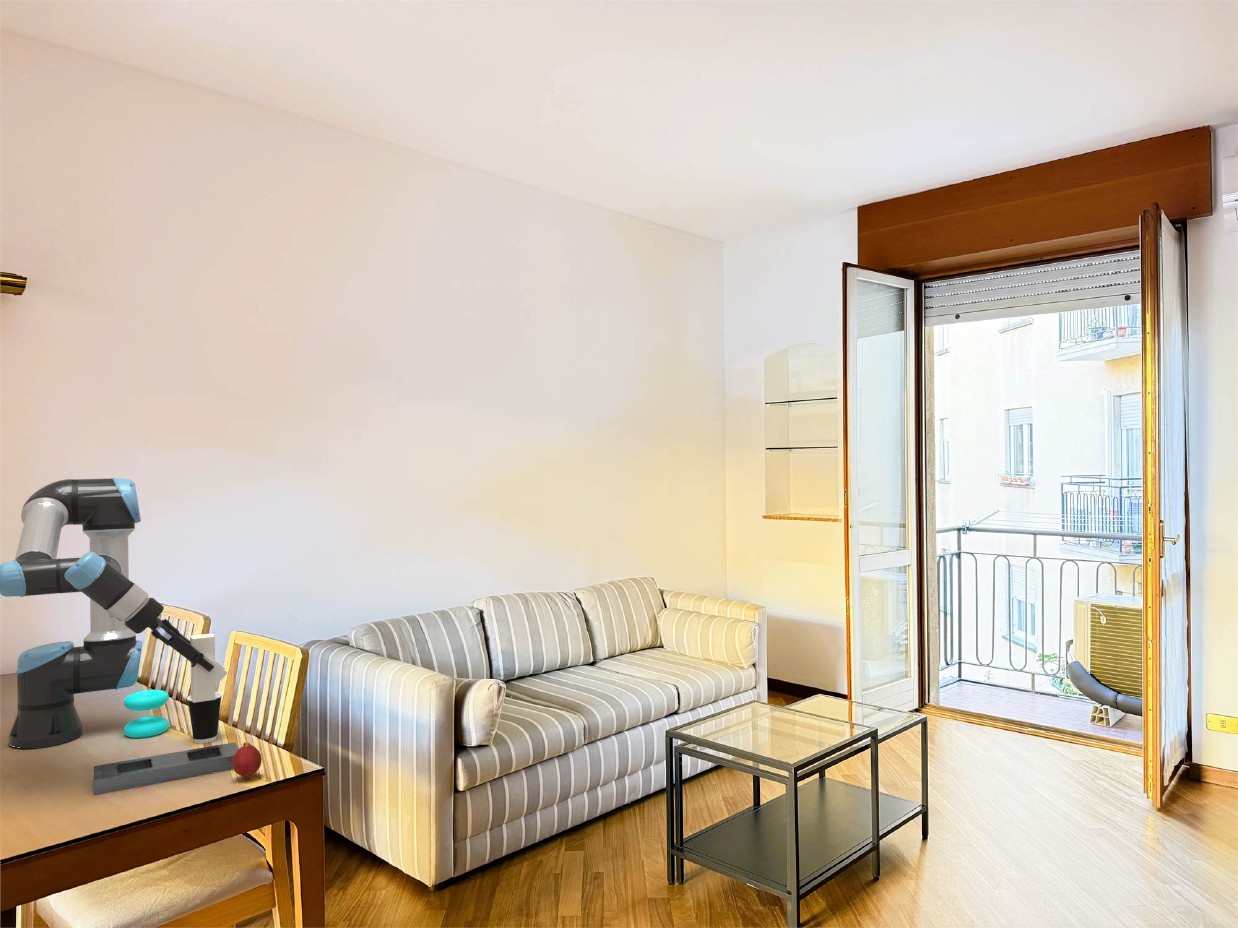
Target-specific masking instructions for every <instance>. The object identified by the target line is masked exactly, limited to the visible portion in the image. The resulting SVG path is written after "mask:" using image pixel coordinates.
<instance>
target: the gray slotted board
mask: <svg viewBox="0 0 1238 928" xmlns="http://www.w3.org/2000/svg"><path fill="white" fill-rule="evenodd" d="M238 749H240V747H239V746H238V744H237V743H236V741H234V742H233V741H232V742H227V743H222V744H217V745H211V746H210V745H209V746H206V747H205V746H203V747H197V748H193V749H186V750H181V751H175V752H168V753H163V754H157V755H151V756H145V757H140V758H134V759H128V760H122V761H115V762H110V763H104V764H98V765H93V796H96V795H102V794H106V793H112V792H116V791H117V792H118V791H123V790H130V789H134V788H140V787H145V786H146V787H147V786H151V785H157V784H161V783H167V782H171V781H177V780H183V779H188V777H189V778H194V777H199V776H198V775H200V776H205V775H209V774H214V773H213V772H216V773H221V772H226V771H231V769H232V770H234V769H233V766H232V760H233V757H234V755H235V753H236V752H237V751H238ZM220 771H221V772H220Z"/></svg>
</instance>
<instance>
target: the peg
mask: <svg viewBox="0 0 1238 928" xmlns="http://www.w3.org/2000/svg"><path fill="white" fill-rule="evenodd" d="M215 640H216V637H215V635H214V634H213V633H205V634H204V633H203V634H202V633H201V634H195V635H189V641H190V645H192V646H193V647H194V648H195V649H197V650H198V651H199V652H200V653H203V654H204V655H206V656H207V657H208V658H210V659H211V660H212V661H213V662H215V661H216V641H215ZM191 665H192V663H191V662H190V695H191V699H192V702H193V703H195V702H202V701H209V700H216V696H215V692H216V681H215V680H214V679H213V678H212V677H210V676H209V675H208V674H206V673H205V672H204V671H202V670H201V669H200V668H199V667H197V666H196V665H195V666H194V667H191Z"/></svg>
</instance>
